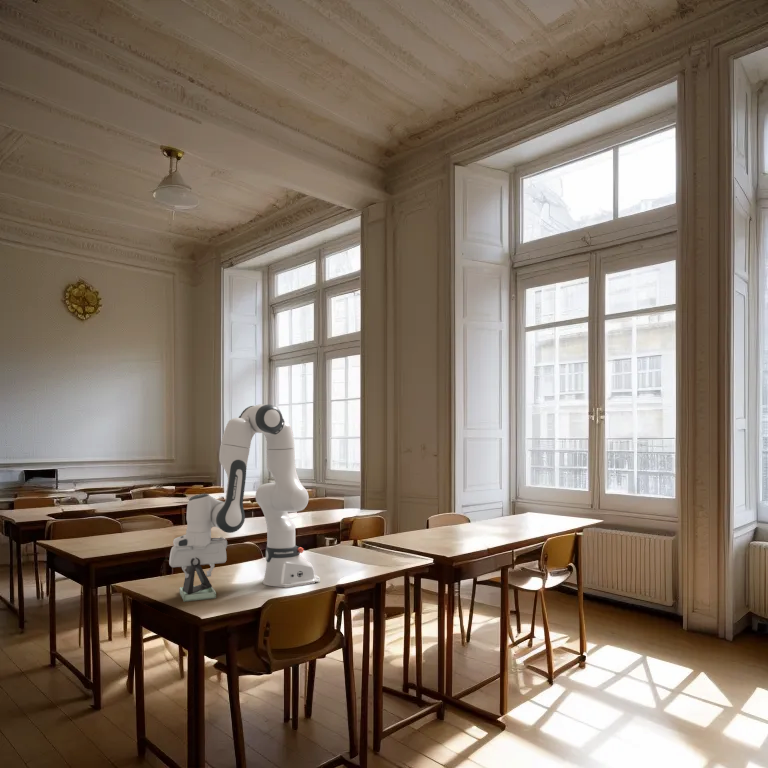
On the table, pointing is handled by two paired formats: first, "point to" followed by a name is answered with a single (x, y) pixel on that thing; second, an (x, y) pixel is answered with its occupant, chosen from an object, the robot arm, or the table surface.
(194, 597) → the tray
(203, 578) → the dark grey a-shaped stand
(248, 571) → the table surface
